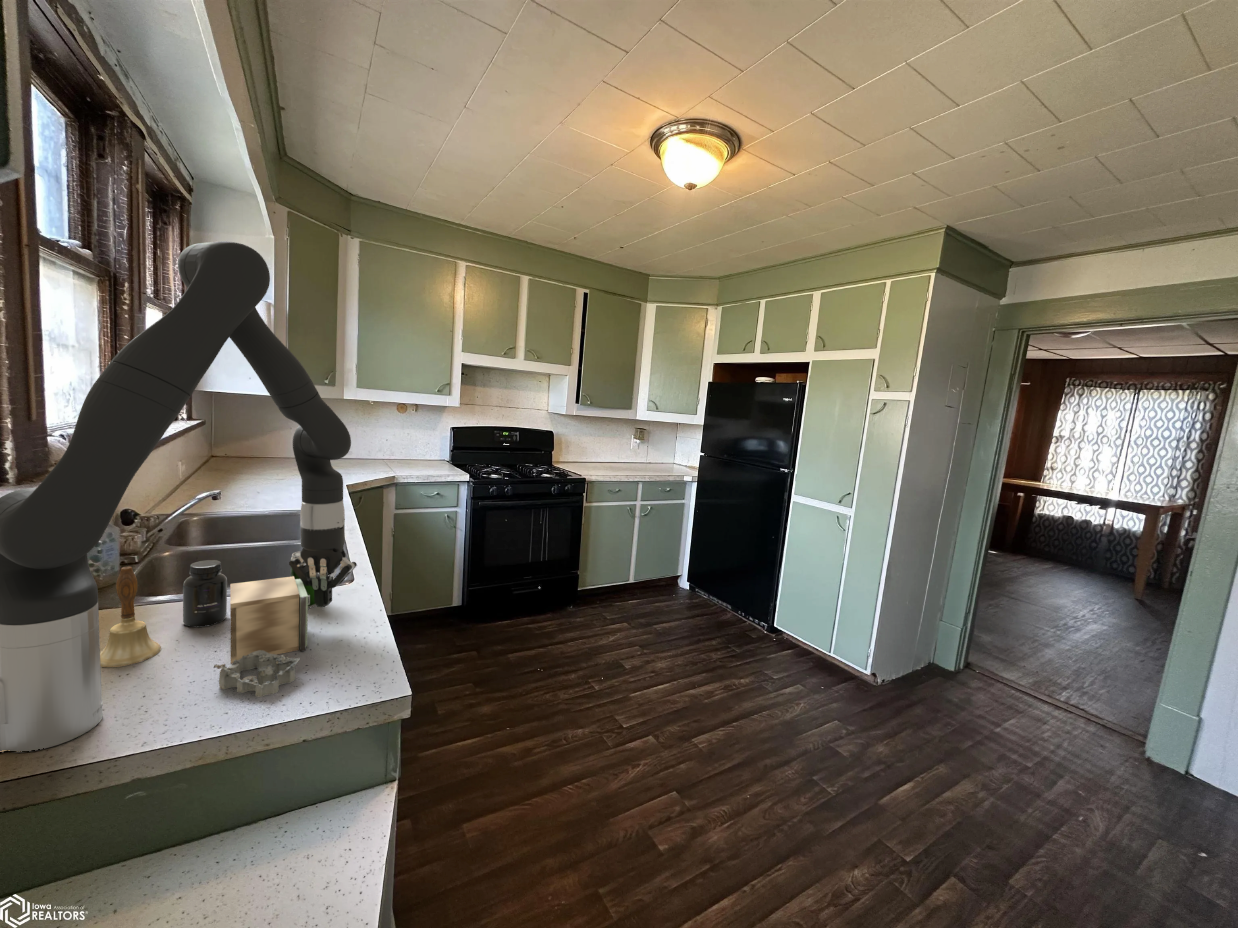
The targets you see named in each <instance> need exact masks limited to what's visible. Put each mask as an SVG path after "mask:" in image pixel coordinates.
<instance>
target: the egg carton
mask: <svg viewBox="0 0 1238 928" xmlns="http://www.w3.org/2000/svg"><path fill="white" fill-rule="evenodd" d="M300 659H301V657H297V658H294V657H291V658H289V657H288V656H286V657H285V655H284V654H277V655H276V654H270V653H268V652H265V651H263V650H258V651H255V652H252V653H250V654H248V655H247V656H243V657H242V658H241V659H239V660H234V662H233V663H232V664H231V665H230V666H228V667H227V666H226V664H225V663H223V664H217V663H216V664H214V665H213V669H215V668H217V669H218V670H219V669H220V671H219V678H218V686H219V690H220V689H221V690H227V689H230V688H236V693H242V694H243V693H247V692H252V691H253V692H255V697H259V698H262V697H264V696H268V695H275V694H276V693H278V692H279V686H280V685H283V684H290V683H292V682H294V681H295V680H296V665H297V663H298V662H299V661H300ZM255 668H257V676H255V675H248V676H245V677H243V678H242V679H241V672H242V671H249V670H252V669H255Z"/></svg>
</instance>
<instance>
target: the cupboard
mask: <svg viewBox="0 0 1238 928" xmlns="http://www.w3.org/2000/svg"><path fill="white" fill-rule="evenodd" d="M229 586H230V589H229V590H230V592H229V593H230V599H229V602H230V604H229V605H230V610H229V611H230V619H229V620H230V664H231V665H232V664H233V662H234V660H239V659H241V658H242V657H243V656H247V655H248V654H250V653H252V652H255V651H258V650H263V651H265V652H268V653H270V654H276V655H283V654H285V653H290V652H291V653H292V652H296V651H299V650H300V652H305V651H306V647H305V635H306V597H305V596H303V597H301V629H300V647H299V591H298V588H297V585H296V581H295V578H294V576H292V577H290V576H286V577H277V578H268V579H262V580H261V579H260V580H252V581H245V582H236V583H230V585H229Z"/></svg>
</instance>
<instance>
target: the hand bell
mask: <svg viewBox="0 0 1238 928" xmlns="http://www.w3.org/2000/svg"><path fill="white" fill-rule="evenodd" d="M115 587H116V588H115V589H116V593H117V597H118V599H119V601H120V604H121V605H120V606H121V607H120V608H121V611H120V618H121V621H120V622H119V623H117V624H115V625H113V626H112V627H111V628H110V630H109V633H108V634H109V635H108V636H109V637H108V639H107V642H106V645H105V647H104V648H103V649H102V650H101V651H100V661H101V668H117V667H119V668H120V667H125V666H131V665H134V664H138V663H140V662H144V661H147V660H149V659H151V658H153V657H155V656H156V655H157V654H159V653H160V652H161V650H162V646H161V644H159V642H157V641H154V640H153V639H152V638H151V637H150V635H149V632H148V628H147V624H146V622H144V621H142V620H137V619H136V616H135V615H136V613H135V600H136V599H135V598H136V595H137V592H138V579H137V577H136V574H135V572H134V570H133V567H132V566H123V567H121V569H120V572H119V575H118V577H117V579H116V586H115Z"/></svg>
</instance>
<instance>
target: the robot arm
mask: <svg viewBox="0 0 1238 928" xmlns="http://www.w3.org/2000/svg"><path fill="white" fill-rule="evenodd" d="M177 259H178V260H177V269H178V274H179V276H180V279H181V280H182V282H183V284H184V285H185V287H186V288H187V289H186V290H185V292H184V293H183V295H181V298H179V300H178V301H177V303H176V304H175V305H174V306H173V307H172V308H171V310H169V311H168V312H167V313H166V314H164V315H163V316H162V317H161V318H159V319H158V320H157V321H155V322H154V323H153V324H151V325H150V326H148V327H147V328H145V329H144V330H143V331H142V332H140V333H139V334H138V335H136V336H135V337H134V338H132V339H131V340H130V341H129V342H128V343H127V344H126V345H124V347H122V348H121V349H120V350H119V351H118V352H117V353H116V354H115V356H114V357H113V358H112V359H111V361H110V362H109V363H108V364H107V366H106V367H105V368H104V370H103V371H102V373H100V375H99V376H98V378H97V379H96V380H95V382H94V383H93V385H92V386H91V388H90V389H89V391H88V393H87V394H86V397H85V398H84V401H83V404H82V405H81V409H80V411H79V414H78V416H77V421H76V424H75V426H74V430H73V433H72V436H71V438H70V440H69V444H68V446H67V448H66V450H65V451H64V453H63V455H62V457H61V458H60V459H59V461H58V462H57V463H56V465H55V466H54V467H53V468H52V470H50V472H49V473H48V474H47V475H46V476H45V478H44V479H43V480H42V482H41V483H40V484H39V485H38V486H37V487H28V488H22V489H17V490H14V491H11V492H9V493H6V494H4V495H2V496H0V751H2V750H10V751H17V752H16V753H23V752H22V751H29V752H32V751H31V750H35V751H39V750H38V749H40V750H44V749H48V748H52V747H55V746H58V745H61V744H64V743H66V742H69V741H71V740H75V738H77V737H80V736H81V735H84V734H86V733H87V732H89V731H91V730H92V729H94V728H95V727H96V726H97V725H98V724H99V723H100V722H101V721H102V719H103V693H102V688H103V687H102V686H103V685H102V667H101V661H100V652H101V644H100V643H101V641H100V637H101V636H100V619H99V615H100V613H99V592H98V591H99V590H98V584H97V582H96V580H95V578H94V575H93V574H92V571H91V568H90V565H89V560H88V553H90V552H91V551H92V549H93V548H95V547H96V546H97V545H98V543H99V542H100V540H101V539H102V537H103V535H104V534H105V532H106V530H107V528H108V526H109V524H110V522H111V520H112V518H113V517H114V514H115V513H116V510H117V509H118V506H119V504H120V502H121V500H122V498H123V496H124V495H125V493H126V491H127V489H128V488H129V486H130V483H131V482H132V480H133V479H134V477H135V475H136V474H137V473H138V471H139V470H140V468H141V467H142V466H143V464H144V463H145V461H146V460H147V459H148V458H149V456H150V454H151V453H152V452H153V451H154V449H155V447H156V446H157V445H158V443H159V442H160V441H161V439H162V438H163V436H164V435H165V433H166V432H167V431H168V429H169V428H170V427H171V425H172V424H173V422H174V421H175V420H176V419H177V417H178V416H179V414H180V413H181V411H182V410H183V409H184V407H185V405H186V404H187V403H188V401H189V399H190V398H191V396H192V395H193V394H194V392H195V390H196V389H197V387H198V385H199V384H200V382H201V380H202V379H203V378H204V376H205V374H206V373H207V372H208V370H209V368H210V367H211V365H212V364H213V363H214V361H215V359H216V358H217V356H218V355H219V353H220V352H221V350H222V349H223V347H224V345H225V344H226V342H227V341H228V339H229V338H230V340H231V341H232V342H233V344H234V345H235V346H236V348H237V349H238V350H239V351H240V352H241V354H242V355H243V358H245V359H246V361H247V362H248V364H249V366H250V367H251V368H252V369H253V371H254V373H255V374H256V375H257V377H258V378H259V380H260V382H261V383H262V384H263V387H264V388H265V390H266V391H267V393H268V395H269V396H270V397H271V399H272V401H273V402H274V404H275V405H276V407H277V408H278V410H279V411H280V412H281V414H282V415H283V417H285V418H286V419H289V420H290V421H293V422H295V423H296V424H298V426H297V428H296V429H295V431H294V433H293V437H292V451H293V455H294V459H295V462H296V466H297V470H298V473H299V476H300V479H301V506H300V514H299V515H300V516H299V517H300V520H299V521H300V547H301V550H300V551H301V553H300V556H299V557H298V558H296V559H294V560H292V561H291V560H290V561H289V562H288V565H289V567H290V569H291V568H292V569H293V570H294V572H295V573H296V574H297V576H298V577H299V578H300V579H301V581H302V582H303V583H304V585H306V586H308V585H309V586H312V587H313V589H314V602H315V604H316V606H315V607H317V608H327V606H329V605H330V603H332V601H333V589H334V588H336V587H338V586H339V585H342V583H343V582H344V581H345V580H346V579H347V577H348V576H349V575H350V574H351V573H352V572H353V571H354V570H355V568H356V567H357V566H358V565H357V563H356V562H355V561H350V560H349V559H348V558H347V553H346V552H345V549H344V546H345V544H346V543H345V541H346V540H345V539H346V538H345V536H346V535H345V534H346V533H345V527H346V526H345V522H346V521H345V520H346V517H345V516H346V514H345V506H344V478H343V475H342V473H341V472H339V471H338V470H336V469H335V468H334V467H333V466H332V462H331V461H335V460H340V459H342V458H344V457H345V456H347V455H348V454H349V452H350V450H351V445H352V438H351V434H350V431H349V429H348V428H347V426H346V424H345V423H344V422H343V420H342V419H341V418H340V417H339V416H338V414H336V413H335V411H334V410H333V409H332V407H330V406H329V405H328V404H327V403H326V402H325V400H323V398H322V397H321V395H320V393H319V391H318V389H317V387H316V386H315V384H314V382H313V380H312V379H311V377H310V375H309V373H308V372H307V370H306V369H305V367H304V366H303V365H302V363H301V361H299V359H298V358H297V357H296V355H294V353H293V352H292V351H291V350H290V349H288V347H286V345H285V344H284V343H283V342H282V341H281V340H280V339H279V338H278V336H276V335H275V334H274V332H273V331H272V329H271V328H270V327H269V325H268V324H267V323H266V322H265V321H264V318H262V316H261V315H260V313H259V311H258V310H257V308H256V307H257V306H258V304H259V303H260V302H261V301H262V300H264V299H263V298H265V296H266V294H267V292H268V290H269V287H270V284H271V283H270V281H271V276H270V269H269V267H268V265H267V262H266V259H264V257H263V256H262V255H261V254H260V253H259V252H257V250H255V249H254V248H252V247H250V246H248V245H246V244H243V243H239V242H235V241H234V242H233V241H228V240H227V241H226V240H225V241H223V240H222V241H210V242H209V241H207V242H200V243H195V244H192V245H189V246H187V247H186V248H185V249H183V250H182V252H180V254H179V257H178V258H177ZM338 568H339V570H340V571H339V572H338V574H337V569H338ZM336 574H337V575H336ZM43 748H44V749H43ZM18 751H19V752H18ZM20 751H21V752H20Z"/></svg>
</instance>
